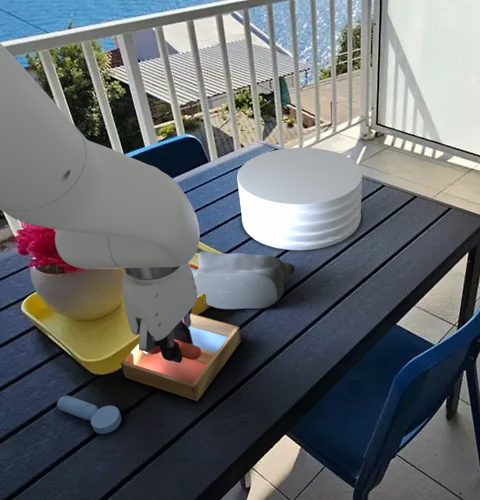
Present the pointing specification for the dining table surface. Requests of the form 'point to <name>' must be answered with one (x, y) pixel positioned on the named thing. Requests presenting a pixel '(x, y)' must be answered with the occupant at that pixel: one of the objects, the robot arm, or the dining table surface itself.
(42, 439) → the dining table surface
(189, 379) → the caddy
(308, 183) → the plate stack
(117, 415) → the blue disc-ended peg
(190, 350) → the red knob peg
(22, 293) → the dining table surface
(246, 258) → the rock
